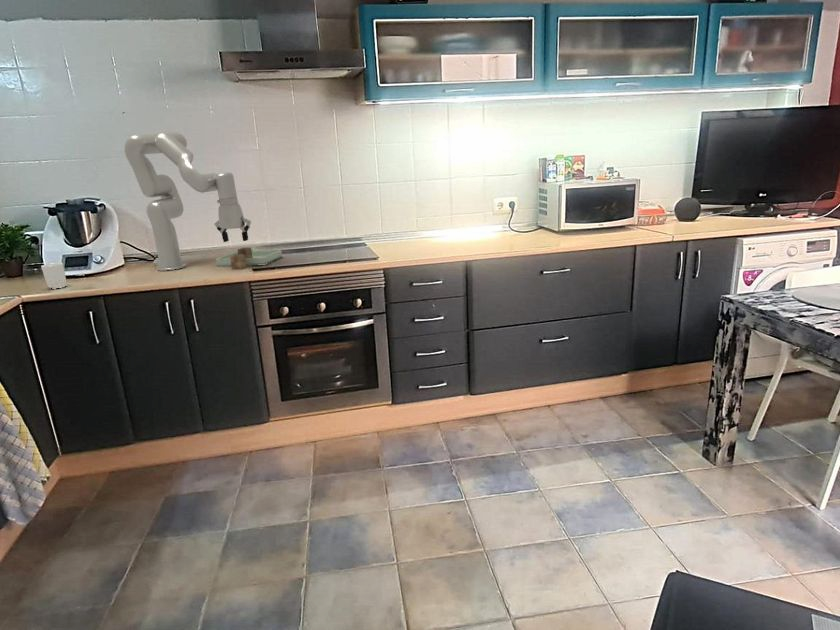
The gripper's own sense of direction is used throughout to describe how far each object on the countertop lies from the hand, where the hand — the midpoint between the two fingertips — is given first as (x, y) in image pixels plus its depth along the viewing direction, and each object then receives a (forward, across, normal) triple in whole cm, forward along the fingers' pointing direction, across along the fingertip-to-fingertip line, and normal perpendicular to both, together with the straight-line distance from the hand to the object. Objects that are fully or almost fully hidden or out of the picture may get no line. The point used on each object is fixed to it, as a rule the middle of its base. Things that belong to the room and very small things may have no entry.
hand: (235, 241), depth 253 cm
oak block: (+12, -1, 0) cm, 12 cm away
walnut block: (+11, -3, +10) cm, 16 cm away
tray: (+12, -3, +14) cm, 18 cm away
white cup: (+11, -67, -34) cm, 76 cm away
